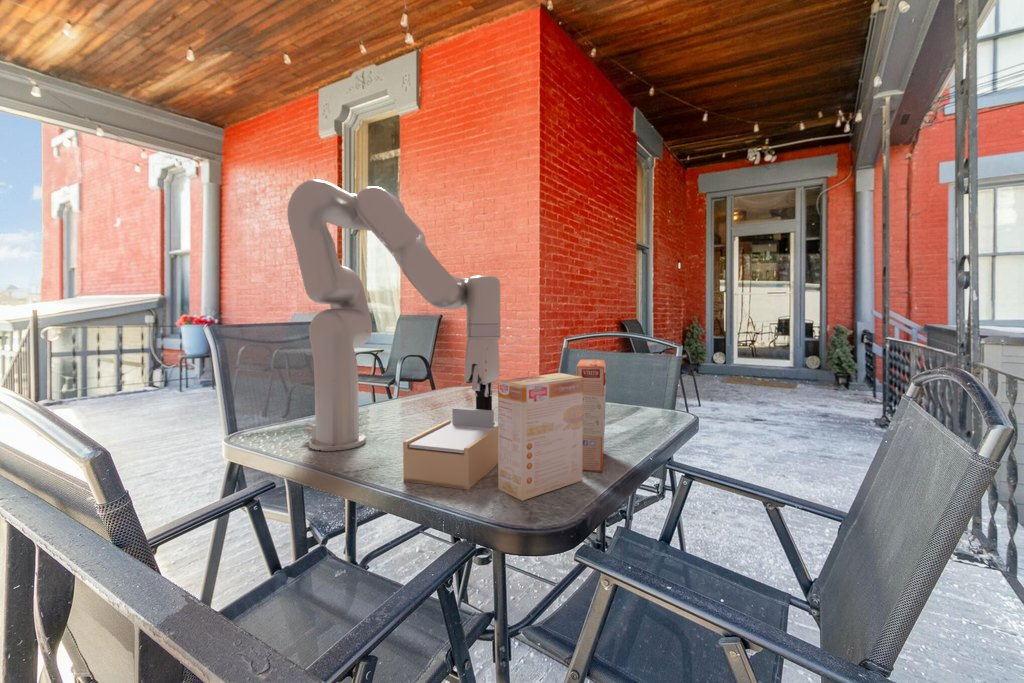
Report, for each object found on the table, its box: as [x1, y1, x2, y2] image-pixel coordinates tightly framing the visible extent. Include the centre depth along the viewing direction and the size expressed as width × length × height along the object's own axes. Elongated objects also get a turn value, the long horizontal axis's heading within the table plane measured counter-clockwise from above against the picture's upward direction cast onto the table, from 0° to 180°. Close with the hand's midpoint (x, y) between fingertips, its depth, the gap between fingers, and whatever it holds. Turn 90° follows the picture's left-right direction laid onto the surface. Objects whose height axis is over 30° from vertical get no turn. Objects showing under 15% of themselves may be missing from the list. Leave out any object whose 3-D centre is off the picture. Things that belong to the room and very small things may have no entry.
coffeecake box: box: [497, 372, 583, 502], centre depth 84 cm, size 15×7×20 cm, turn 129°
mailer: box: [402, 419, 498, 490], centre depth 92 cm, size 13×18×7 cm
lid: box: [409, 407, 496, 453], centre depth 92 cm, size 11×17×4 cm, turn 161°
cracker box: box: [575, 358, 607, 473], centre depth 97 cm, size 14×6×21 cm, turn 168°
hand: (484, 413), depth 105 cm, fingers closed
